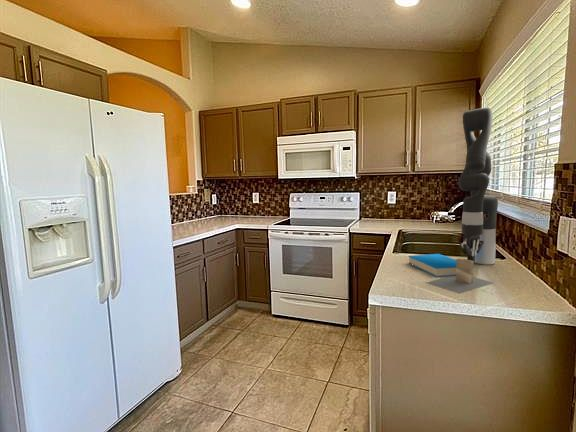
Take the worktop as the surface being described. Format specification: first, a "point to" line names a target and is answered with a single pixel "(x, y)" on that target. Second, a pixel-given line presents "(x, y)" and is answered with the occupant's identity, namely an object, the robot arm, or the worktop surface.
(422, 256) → the book
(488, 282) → the mat
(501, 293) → the worktop surface
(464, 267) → the tile
